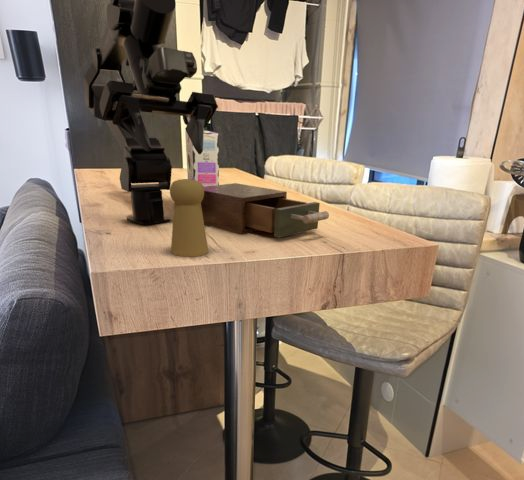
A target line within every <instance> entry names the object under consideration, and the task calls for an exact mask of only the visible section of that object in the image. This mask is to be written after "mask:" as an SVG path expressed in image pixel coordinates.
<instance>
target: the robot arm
mask: <svg viewBox="0 0 524 480" xmlns="http://www.w3.org/2000/svg"><path fill="white" fill-rule="evenodd" d="M176 6H177V5H176V0H110V1H109V3H107V6H106V21H107V29H106V30H105V32H104V34H103V36H102V37H101V40H100V41H99V43H98V45H97V46H96V47H93V48H92V61H91V64H90V65H89V67H88V68H87V71H86V72H85V74H84V76H83V98H84V103H85V107H86V109H88V110H89V112H90V114H91V115H92V116H93V117H94V118H95V119H97V120H100V121H102V122H105V123H106V125H107V126H108V128H109V130H110V131H111V133H112V135H113V136H114V138H115V140H116V141H117V143H118V145H119V147H120V149H121V150H122V151H123V152H122V153H123V158H122V163H121V167H120V172H119V182H120V187H121V188H120V189H121V190H123V191H125V192H127V193H130V199H131V200H130V201H131V202H130V203H131V211H132V216H129V217H126V218H125V219H126V221H128V222H130V223H131V222H132V223H135V224H138V225H141V226H149V225H154V224H160V223H167V222H171V218H169V217H166V216H165V210H164V199H163V191H164V190H166V191H170V186H171V184H172V171H173V170H172V169H173V165H172V162H171V160H170V157H169V156H168V155H167V154H166V152H165V147H163V145H162V144H161V143H160V141H159V139H158V138H156V137H149V134H148V132H147V129H146V125H145V123H144V121H143V118H142V114H141V112H142V113H151V114H152V113H153V114H159V115H170V116H178V117H179V116H180V117H182V121H183V122H184V125H186V126H185V128H184V129H185V131H186V132H187V134H188V136H189V138H190V140H191V142H192V144H193V146H194V148H195V150H196V151H197V153H198V154H201V153H202V152H203V134H204V131H205V128H207V127H208V124H209V123H210V121H211V120H212V118H213V116H214V115H215V113H216V112H217V110H218V108H219V106H218V102H217V100H216V97H215V96H214V94H211V93H204V92H197V91H192V92H191V94H190V96H189V97H188V100H187V101H186V100H178V99H177V95H179V94H180V93H181V91H182V84H181V82H183V80H184V79H186V78H187V79H192V78H193V76H195V74H197V72H198V64H197V59H196V58H195V55H194V53H193V52H192V51H187V50H180V49H174V48H170V47H164V46H163V47H161V46H160V45H163V44H166V42H167V39H168V36H169V31H170V28H171V25H172V21H173V17H174V13H175V10H176ZM123 63H124V64H125V66H127V67H129V69H130V72H131V76H132V78H133V81H132V83H131V82H126V80H125V78H124V76H123V73H122V71H123ZM101 71H110V72H117V74H118V76H119V78H120V81H119V80H111V79H107V80H106V81H105V83H104V84H96V83H95V81H96V80H97V78H98V76H99V75H100V73H101ZM94 83H95V84H94ZM136 91H137V92H136Z"/></svg>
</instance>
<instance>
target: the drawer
mask: <svg viewBox="0 0 524 480" xmlns="http://www.w3.org/2000/svg"><path fill="white" fill-rule="evenodd" d="M329 216H330V214H329V212H328V211H327V210H325V211H320V202H317V201H313V202H312V201H311V202H307V201H302V200H301V201H300V200H297V199H296V200H295V199H289V198H286V199H284V198H279V197H275V198H268V199H262V200H255V201H249V202H245V227H249V228H253V229H257V230H260V231H263V232H266V233H269V234H272V233H273V236H274V238H279V239H280V238H284V237H288V236H292V235H296V234H300V233H304V232H308V231H309V232H310V231H313V230H317V229H319V222H320V221H324V220H328V219H329Z"/></svg>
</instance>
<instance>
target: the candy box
mask: <svg viewBox="0 0 524 480" xmlns="http://www.w3.org/2000/svg"><path fill="white" fill-rule="evenodd" d="M184 132H185V134H184V135H185V151H186V170H187V171H186V172H187V179H191V180H196V181H199V182H200V183H201V184H202V185H203V187H205V186H214V185H220V178H219V177H220V169H219V168H220V158H219V157H220V155H219V154H220V150H219V148H220V147H219V146H220V145H219V142H220V140H219V139H220V138H219V135H220V134H219V133H218V132H214V131H211V130H204V134H203V152H202V153H201V154H198V153H197V151H196V150H195V148H194V146H193V144H192V142H191V140H190V138H189V136H188V134H187V132H186V130H185V131H184Z"/></svg>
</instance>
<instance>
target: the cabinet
mask: <svg viewBox="0 0 524 480" xmlns="http://www.w3.org/2000/svg"><path fill="white" fill-rule="evenodd" d="M203 188H204V197H203V200H202V201H201V207H202V214H203V220H204V226H208V227H212V228H215V229H220V230H223V231H228V232H230V233H235V234H239V235H246V234H251V233H255V232H259V231H261V230H257V229H253V228H249V227H245V202H249V201H255V200H262V199H268V198H275V197H279V198H284V199H287V195H288V192H287V191H285V190H279V189H272V188H267V187H261V186H255V185H249V184H243V183H237V182H234V183H224V184H219V185H214V186H205V187H203Z"/></svg>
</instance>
